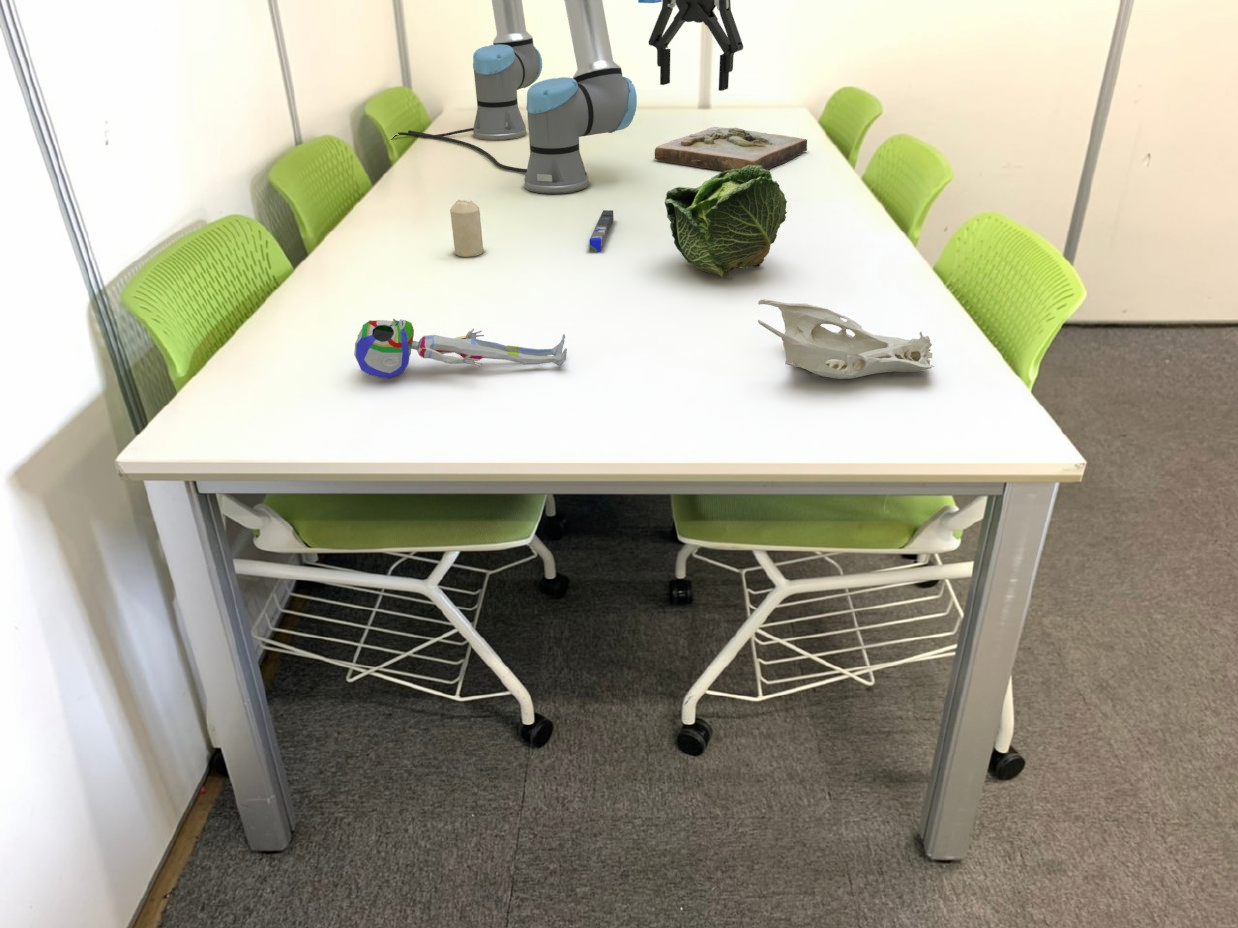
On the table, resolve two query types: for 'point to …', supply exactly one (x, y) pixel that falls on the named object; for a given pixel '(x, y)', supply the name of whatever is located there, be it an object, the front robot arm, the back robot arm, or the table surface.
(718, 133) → the plaque
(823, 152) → the table surface
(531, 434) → the table surface
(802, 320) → the anatomical model
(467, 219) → the candle
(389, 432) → the table surface
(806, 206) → the table surface
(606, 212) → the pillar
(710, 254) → the vegetable
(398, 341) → the toy
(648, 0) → the ink box
